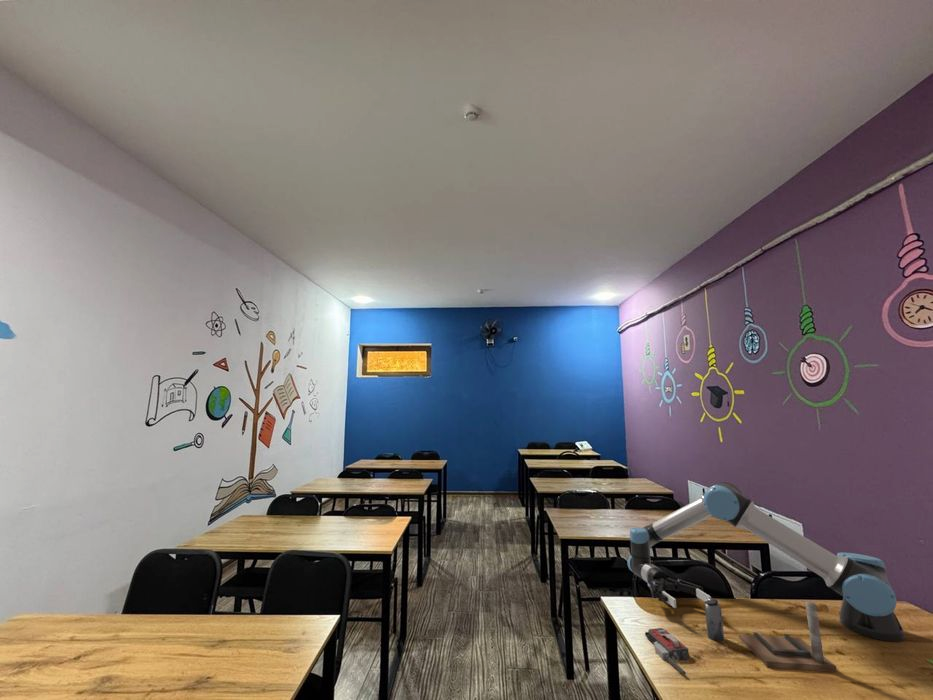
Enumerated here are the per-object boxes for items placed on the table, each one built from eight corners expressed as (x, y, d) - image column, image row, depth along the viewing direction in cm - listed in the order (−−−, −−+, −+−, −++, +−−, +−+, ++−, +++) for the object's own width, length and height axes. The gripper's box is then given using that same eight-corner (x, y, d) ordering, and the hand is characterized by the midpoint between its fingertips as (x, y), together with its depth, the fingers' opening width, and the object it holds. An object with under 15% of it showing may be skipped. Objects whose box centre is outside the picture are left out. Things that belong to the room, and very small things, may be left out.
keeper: (803, 642, 122) (796, 586, 124) (840, 672, 108) (831, 607, 111) (739, 639, 124) (733, 583, 127) (767, 667, 110) (759, 604, 113)
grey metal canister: (716, 633, 127) (712, 595, 129) (728, 641, 123) (723, 602, 125) (704, 634, 127) (700, 596, 129) (715, 642, 122) (710, 603, 124)
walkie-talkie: (639, 638, 125) (681, 679, 106) (638, 623, 126) (680, 661, 107) (663, 636, 127) (710, 676, 107) (662, 621, 128) (708, 658, 108)
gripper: (684, 585, 157) (726, 611, 136) (627, 589, 153) (661, 616, 133) (682, 565, 158) (723, 588, 137) (626, 569, 155) (659, 593, 134)
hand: (693, 602), depth 135 cm, fingers open, 13 cm apart
